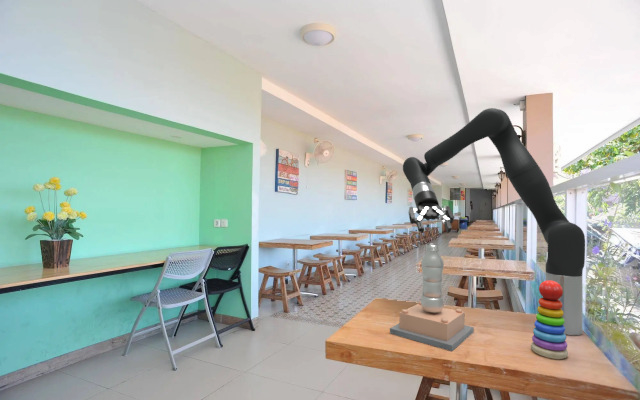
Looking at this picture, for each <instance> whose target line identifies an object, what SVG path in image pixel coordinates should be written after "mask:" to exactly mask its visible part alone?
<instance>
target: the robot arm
mask: <svg viewBox="0 0 640 400" xmlns="http://www.w3.org/2000/svg"><path fill="white" fill-rule="evenodd" d="M486 138H489V140H490V141H491V143H492V144H493V145H494V147H495V148H496V150H497V151H498V153H499V155H500V160H501V162H502V166H503V169H504V172H505V175H506V176H507V178H508V180H509V181H510V183H511V185H512V187H513V188H514V190H515V191H516V193H517V195H518V196H519V197H520V199H521V200H522V201H523V203H524V204H525V206H526V207H527V208H528V209H529V211H530V212H531V214H532V215H533V217H534V219H535V221H536V223H537V225H538V227H539V230H540V232H541V234H542V236H543V239H544V241H545V243H546V244H547V258H546V263H545V281H547V280H551V281H555V282H557V283H558V284H560V286H561V287H562V289H563V294H562V296H561V298H560V299H558V300H559V301H561V303H562V308H560V309H561V310H562V311H563V313H564V314H563V316H562V317H563V318H564V321H565V322H564V324H563V325H564V327H565V332H564V334H565V335H566V336H567V335H570V336H580V335H583V318H584V317H583V310H584V309H583V307H584V306H583V295H584V294H583V293H584V291H583V271H584V267H585V262H586V261H585V260H586V259H585V257H586V238H585V233H584V231H583V229H582V228H581V227H580V226H579V225H577V224H575V223H574V222H573V223H572V222H570V220H568V218H567V217H566V216H565V214H564V213H563V212H562V210H561V209H560V207H559V206H558V205H557V202H556V200H555V197H554V194H553V192H552V188H551V186H550V184H549V181H548V179H547V177H546V175H545V174H544V172H543V170H542V169H541V167H540V166H539V164H538V162H537V161H536V160H535V158H534V157H533V155H531V152H530V151H529V150H528V149H527V147H526V146H525V145H524V144H523V143H522V140H521V139H520V138H519V136H518V134H517V132H516V129H515V128H514V125H513V123H512V121H511V119H510V117H509V115H508V114H507V112H505V110H502V109H500V108H499V109H498V108H495V107H494V108H493V107H491V108H490V107H489V108H486V109H483V110H482V111H481V112H479V113H478V114H477V115H475V116H474V118H472V119H471V120H470V121H469V122H468V123H467V124H465V126H463V127H461V128H460V129H459V130H458V131H456V132H455V133H454V134H452V135H450V136H449V137H448V138H445V139H444V140H443V141H442V142H440V143H438V144H436V145H435V146H433V147H431V148H430V149H428V150H427V151H426V152H425V153H424V157H423V158H424V160H425V162H424V163H423V162H422V161H420V159H418V157H415V156H410V157H407V158H406V159H405V160H404V161H403V164H402V171H403V174H404V176H405V177H406V179H407V180H408V182H409V184H410V187H411V190H412V197H413V200H414V204H415V207H416V208H414V207H413V206H409V209H408V217H409V223H410V224H412V225H413V224H415V225H416V227H417V230H418V232H420V234H423V233H424V231H425V227H424V224H423V221H424V220H428V221H429V220H432V221H433V220H436V221H437V222H439V223H440V222H441V223H442V224H443V225H444V228H445V231H446V233H447V234H448V233H450V232H451V231H452V228H453V227H452V224H453V222H454V220H455V215H454V213H453V212H452V208H451V207H450V206H449V205H446V206H445V207H441V206H440V204H439V203H440V202H439V200H438V197H437V195H436V192H435V189H434V188H433V186H432V183H431V180H430V178H429V176H430V175H431V174H432V173H433V172H434V171H435V170H436V169H437V168H438V167H440V166H442V165H443V164H445V163H446V162H448V161H450V160H452V159H453V158H454V157H456V155H458V154H459V153H460V152H461V151H463V150H464V149H465V148H467V147H469V146H470V145H472V144H473V143H475V142H476V143H477V142H478V141H480V140H483V139H486ZM416 214H418V215H419V216H418V217H416V216H415V215H416Z"/></svg>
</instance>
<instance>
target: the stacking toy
mask: <svg viewBox="0 0 640 400" xmlns="http://www.w3.org/2000/svg"><path fill="white" fill-rule="evenodd" d="M538 292H539V294H540V295H541V296H542V297H541V298H539V299H538V303H539V305H538V307H537V312H538V313H536V316H535V317H536V320H535V321H534V328H533V330H532V332H533V335H532V337H531V340H532V342H531V344H530V348H531V350H532V351H533V352H534V353H536V354H537V355H539V356H542V357H544V358H548V359H553V360H554V359H555V360H561V359H562V360H563V359H566V358H568V356H569V350H568V349H567V348H568V343H567V341H566V340H567V334H564V332H565V327H564V325H563V324H564V322H565V321H564V318H563V317H562V316H563V314H564V313H563V311H562V310H561V309H560V308H562V303H561V301H559V300H558V299H560V298H561V296H562V294H563V289H562V287H561V286H560V284H558V283H557V282H555V281H551V280H547V281H546V280H544V281H542V282H541V283H540V284H539V287H538Z"/></svg>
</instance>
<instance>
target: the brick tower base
mask: <svg viewBox="0 0 640 400" xmlns="http://www.w3.org/2000/svg"><path fill="white" fill-rule="evenodd" d="M465 313H466V312H465V311H463V309H462V308H455V309H452V308H447V307H446V308H445V307H443V310H442V311H441V312H439V313H429V312H426V311H424V310H423V309H422V307H421V300H419V301H418V303H417V304H415V305H413V306H411V307H408V308H403V309H401V311H400V312H399V322H398V323H397V324H395V325H393V326H390V328H389V334H390V335H394V336H398V337H401V338H404V339H408V340H411V341H414V342H418V343H422V344H426V345H430V346H431V347H435V348H439V349H442V350H446V351H448V352H449V351H450V352H454V350H456V349H457V348H458V347H459V346H460V345H461V344H462V343H463V342H464V341H465V340H467V339H468V338H469V337H470V336H471V335H472V334H473V333H474V331H475V329H474V327H475V326H470V325H466V324H465V323H466V322H465V320H466V319H465V316H466V315H465ZM466 338H467V339H466Z"/></svg>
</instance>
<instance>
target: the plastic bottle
mask: <svg viewBox="0 0 640 400" xmlns="http://www.w3.org/2000/svg"><path fill="white" fill-rule="evenodd" d="M425 251H426V252H425V254H423V256H422V258H421V271H422V290H421V292H422V293H421V298H420V301H421V307H422V309H423V310H424V311H426V312H429V313H439V312H441V311H442V310H443V308H444V304H445V303H444V297H443V290H442V289H443V288H442V285H443V284H442V281H443V271H444V263H445V262H444V259H443V258H442V256H441V255H440V253H439V252H440V247H439V244H437V243H426V244H425Z"/></svg>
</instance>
